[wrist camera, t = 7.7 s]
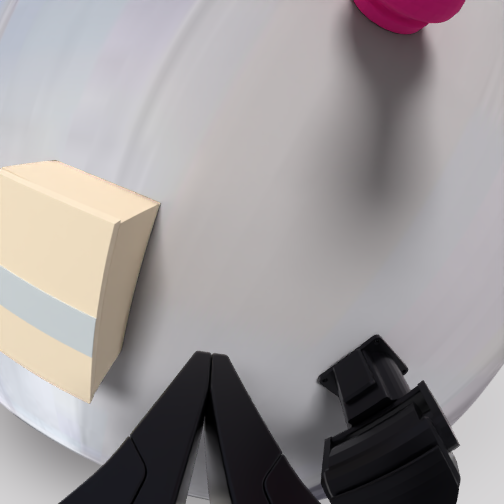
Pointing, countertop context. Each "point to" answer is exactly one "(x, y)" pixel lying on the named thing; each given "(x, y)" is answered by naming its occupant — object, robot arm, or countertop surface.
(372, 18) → the pepper mill
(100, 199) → the carton
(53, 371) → the lid
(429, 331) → the countertop surface
